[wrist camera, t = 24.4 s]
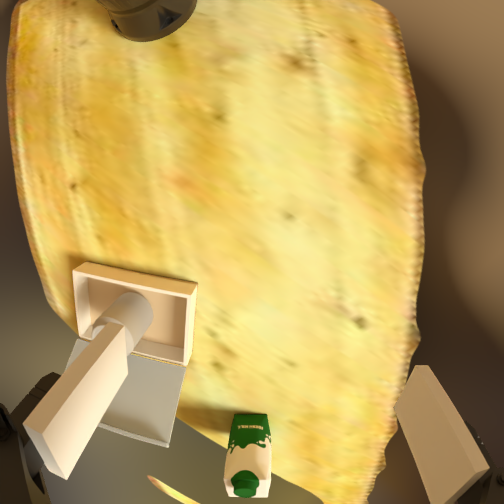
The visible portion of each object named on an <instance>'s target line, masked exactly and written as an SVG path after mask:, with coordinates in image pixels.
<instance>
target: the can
mask: <svg viewBox="0 0 504 504" xmlns="http://www.w3.org/2000/svg"><path fill="white" fill-rule="evenodd" d="M152 321H153V310H152V307H151V305H150V304H149V302H148V301H147V300H146V299H145V298H144V297H143V296H141V295H139V294H137V293H132V292H128V293H124V294H122V295H121V296H120V297H119V298H118V299H117V300H116V301H115V302H114V303H112V304H111V305H110V306H109V307H108V308H107V309H106V310H105V311H104V312H103V313H102V314H101V315H100V316H99V317H98V318H97V319H96V320H95V322H94V324H93V327H92V334H91V338H92V340H93V339H94V338H95V337H96V335H97V334H98V333H99V332H100V331H101V330H102V329H103V328H104V327H105V326H106V324H107V323H108V322H113V323H117V324H121V325H125V342H126V355H127V356H128V355H130V353H131V352H132V351H133V349H134V348H135V346H136V345H137V343H138V342H139V340H140V339H141V337H142V336H143V335H144V333H145V332H146V330H147V329H148V327H149V326H150V324H151V323H152Z"/></svg>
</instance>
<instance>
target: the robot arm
mask: <svg viewBox="0 0 504 504" xmlns="http://www.w3.org/2000/svg"><path fill="white" fill-rule="evenodd" d="M96 1H97V2H98V3H100V4H101V5H102V6H103V7H105V8H106V9H107V10H108V12H109V15H110V18H111V21H112V24H113V26H114V28H115V29H116V30H117V31H118V32H119V33H120V34H121V35H123V36H124V37H125V38H127V39H129V40H132V41H137V42H147V41H153V40H157V39H160V38H163V37H165V36H167V35H169V34H171V33H173V32H174V31H176V30H177V29H178V28H180V27H181V26H182V25H183V24H184V23H185V22H186V21H187V20H188V19H189V18H190V16H191V15H192V13H193V11H194V9H195V7H196V3H197V0H96ZM127 375H128V367H127V355H126V342H125V325H121V324H117V323H113V322H108V323H107V324H106V326H105V327H104V328H103V329H102V330H101V331H100V332H99V333H98V334H97V335H96V337H95V338H94V339H93V340H92V341H91V342H90V343H89V344H88V346H87V347H86V348H85V349H84V350H83V351H82V352H81V354H80V355H79V356H78V357H77V358H76V359H75V360H74V362H73V363H72V364H71V365H70V366H69V367H68V369H67V370H66V371H65V372H64V373H63V375H62V376H61V375H59V374H56V373H54V372H52V373H50V374H48V375H46V376H44V377H42V378H41V379H40V381H39V382H38V383H37V384H36V385H35V388H33V389H32V390H31V391H30V392H29V394H27V395H26V396H25V398H24V399H23V400H22V401H21V402H20V403H19V405H18V406H17V407H16V408H15V409H14V410H13V412H12V413H11V414H9V412H8V410H7V408H5V406H4V405H3V404H1V403H0V504H51V501H50V498H49V495H48V492H47V488H46V485H45V481H44V478H43V474H42V472H41V467H42V465H43V464H44V463H45V465H46V467H47V468H48V470H49V471H50V472H52V473H54V474H56V475H58V476H60V477H62V478H64V479H66V480H67V478H68V477H69V475H70V473H71V471H72V469H73V468H74V466H75V464H76V462H77V460H78V459H79V457H80V455H81V453H82V451H83V450H84V448H85V446H86V444H87V442H88V441H89V439H90V437H91V436H92V434H93V432H94V430H95V429H96V427H97V425H98V423H99V422H100V420H101V418H102V417H103V415H104V413H105V411H106V410H107V408H108V406H109V405H110V403H111V401H112V400H113V398H114V396H115V395H116V393H117V391H118V390H119V388H120V386H121V385H122V383H123V381H124V380H125V378H126V376H127ZM393 408H394V410H395V413H396V415H397V417H398V420H399V422H400V424H401V426H402V429H403V432H404V434H405V437H406V439H407V442H408V444H409V446H410V449H411V452H412V454H413V457H414V459H415V462H416V465H417V467H418V470H419V472H420V475H421V478H422V481H423V483H424V486H425V488H426V492H427V494H428V497H429V500H430V503H431V504H453V503H454V502H455V501H456V500H457V501H458V504H504V468H497V467H496V465H495V464H494V462H493V460H492V458H491V457H490V455H489V453H488V451H487V449H486V448H485V446H484V445H483V442H482V441H481V439H480V438H479V435H478V434H477V432H476V430H475V429H474V428H473V427H472V426H471V425H470V424H469V423H468V422H467V421H464V422H463V420H462V418H461V417H460V415H459V413H458V411H457V410H456V408H455V407H454V405H453V404H452V402H451V400H450V399H449V397H448V395H447V394H446V392H445V391H444V389H443V388H442V386H441V384H440V383H439V381H438V380H437V378H436V377H435V375H434V374H433V373H432V371H431V369H430V368H429V366H427V365H424V366H423V365H420V366H419V365H416V366H415V367H414V370H413V372H412V374H411V376H410V378H409V380H408V382H407V383H406V385H405V387H404V389H403V391H402V393H401V395H400V397H399V398H398V400H397V402H396V404H395V406H394V407H393Z"/></svg>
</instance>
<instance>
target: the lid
mask: <svg viewBox="0 0 504 504" xmlns="http://www.w3.org/2000/svg"><path fill="white" fill-rule="evenodd" d="M89 343H90V342H87V341H84V340H81V339H77V341H76V343H75V345H74V348H73V350H72V353H71V356H70V358H69V361H68V363H67V366H66V369H65V371H66V370H67V369H68V367H69V366H70V365H71V364H72V363H73V362H74V360H75V359H76V358H77V357H78V356H79V355H80V354H81V352H82V351H83V350H84V349H85V348H86V347H87V346H88V344H89ZM127 367H128V375H127V376H126V378H125V380H124V381H123V383H122V385H121V386H120V388H119V390H118V391H117V393H116V395H115V396H114V398H113V400H112V401H111V403H110V405H109V406H108V408H107V410H106V411H105V413H104V415H103V417H102V418H101V420H100V422H99V423H98V425H97V426H99V427H102V428H105V429H107V430H110V431H113V432H116V433H119V434H122V435H125V436H129V437H132V438H135V439H138V440H142V441H145V442H149V443H153V444H156V445H159V446H163V447H167V448H168V447H169V444H168V443H170V438H171V433H172V429H173V424H174V419H175V415H176V411H177V406H178V402H179V397H180V393H181V388H182V384H183V380H184V376H185V371H186V367H181V366H177V365H172V364H168V363H163V362H159V361H155V360H151V359H147V358H143V357H139V356H135V355H131V354H130V355H128V356H127ZM105 424H106V425H105ZM108 425H109V426H108ZM111 426H112V427H111ZM114 427H115V428H114ZM117 428H118V429H117ZM120 429H121V430H120ZM123 430H124V431H123ZM126 431H127V432H126ZM129 432H130V433H129ZM136 434H137V435H136ZM139 435H140V436H139ZM146 437H147V438H146ZM153 439H154V440H153ZM157 440H158V441H157ZM161 441H162V442H161ZM165 442H166V443H165Z"/></svg>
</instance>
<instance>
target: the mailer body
mask: <svg viewBox="0 0 504 504" xmlns="http://www.w3.org/2000/svg"><path fill="white" fill-rule="evenodd" d="M72 272H73V286H74V297H75V307H76V316H77V324H78V331H79V337H80V338H83V339H86V340H89V341H92V338H91V334H92V327H93V324H94V322H95V320H96V319H97V318H98V317H99V316H100V315H101V314H102V313H103V312H104V311H105V310H106V309H107V308H108V307H109V306H110V305H111V304H112V303H114V302H115V301H116V300H117V299H118V298H119V297H120V296H121V295H122V294H124V293H128V292H132V293H137V294H139V295H141V296H143V297H144V298H145V299H146V300H147V301H148V302H149V304H150V305H151V307H152V310H153V321H152V323H151V324H150V326H149V327H148V329H147V330H146V332H145V333H144V335H143V336H142V337H141V339H140V340H139V342H138V343H137V345H136V346H135V348H134V349H133V351H132V352H131V353H134V354H137V355H141V356H145V357H149V358H153V359H157V360H162V361H166V362H170V363H175V364H179V365H184V366H187V364H188V362H189V359H190V356H191V354H192V351H193V340H194V326H195V314H196V302H197V290H198V283H194V282H189V281H183V280H178V279H172V278H167V277H162V276H156V275H151V274H146V273H141V272H136V271H131V270H126V269H121V268H116V267H111V266H107V265H102V264H97V263H92V262H88V261H86V262H85V263H83V264H81V265H80V266H78V267H77V268H75V269H73V270H72Z"/></svg>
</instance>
